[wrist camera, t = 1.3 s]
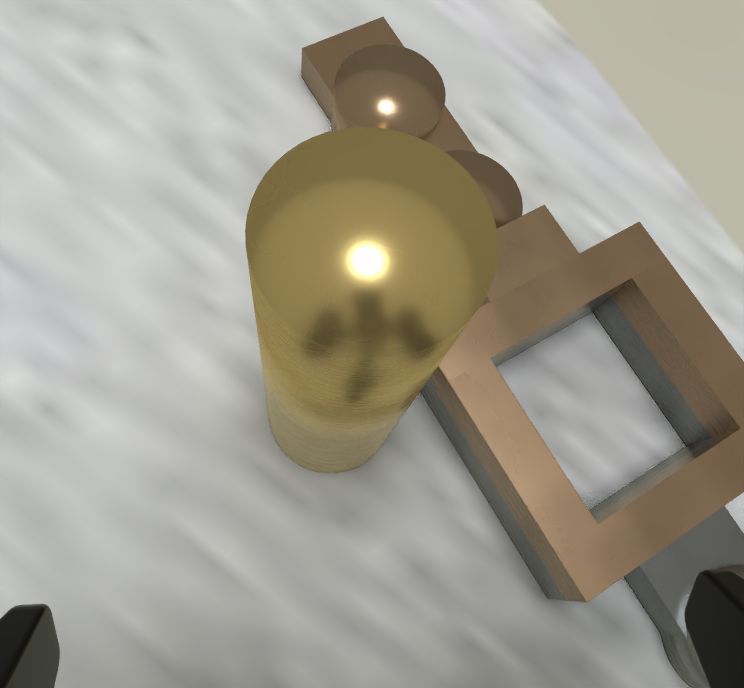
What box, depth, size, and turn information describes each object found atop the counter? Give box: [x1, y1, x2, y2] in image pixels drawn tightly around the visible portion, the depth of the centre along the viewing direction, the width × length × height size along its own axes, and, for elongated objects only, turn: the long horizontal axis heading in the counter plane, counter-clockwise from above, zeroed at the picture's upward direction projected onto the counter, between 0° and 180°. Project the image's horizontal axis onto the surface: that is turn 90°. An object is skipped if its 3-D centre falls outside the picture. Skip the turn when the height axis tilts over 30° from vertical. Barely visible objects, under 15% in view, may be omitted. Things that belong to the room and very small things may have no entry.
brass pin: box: [245, 127, 498, 473], centre depth 17 cm, size 4×4×12 cm
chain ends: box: [301, 17, 744, 688], centre depth 22 cm, size 33×9×3 cm, turn 31°
